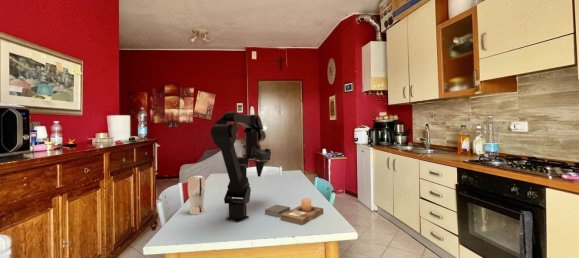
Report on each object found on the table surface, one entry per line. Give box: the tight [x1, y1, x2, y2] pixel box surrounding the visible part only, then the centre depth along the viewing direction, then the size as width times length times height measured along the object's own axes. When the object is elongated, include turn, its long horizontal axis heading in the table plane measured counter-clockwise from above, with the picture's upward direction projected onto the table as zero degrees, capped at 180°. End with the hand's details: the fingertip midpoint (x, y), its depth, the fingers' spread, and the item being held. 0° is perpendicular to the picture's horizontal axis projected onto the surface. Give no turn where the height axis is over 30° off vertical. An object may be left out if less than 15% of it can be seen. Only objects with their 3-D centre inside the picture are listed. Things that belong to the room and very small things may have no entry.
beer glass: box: [187, 175, 206, 215], centre depth 117 cm, size 7×7×15 cm
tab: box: [264, 204, 291, 218], centre depth 115 cm, size 8×7×2 cm
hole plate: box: [279, 205, 324, 226], centre depth 110 cm, size 16×10×2 cm, turn 145°
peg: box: [300, 198, 312, 213], centre depth 113 cm, size 4×4×6 cm
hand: (252, 178), depth 123 cm, fingers open, 9 cm apart
